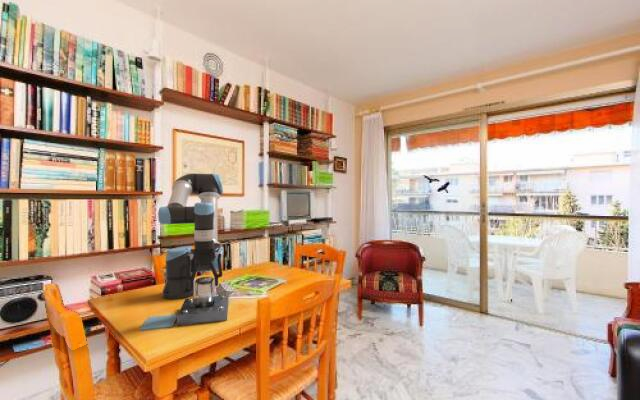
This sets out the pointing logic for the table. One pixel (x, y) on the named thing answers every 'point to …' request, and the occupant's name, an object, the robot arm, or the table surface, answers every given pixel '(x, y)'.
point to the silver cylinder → (204, 292)
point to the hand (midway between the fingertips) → (204, 294)
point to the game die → (224, 289)
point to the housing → (203, 311)
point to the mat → (159, 322)
